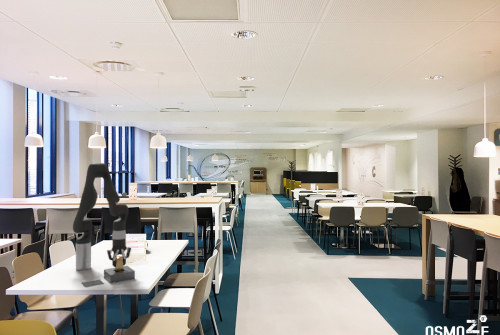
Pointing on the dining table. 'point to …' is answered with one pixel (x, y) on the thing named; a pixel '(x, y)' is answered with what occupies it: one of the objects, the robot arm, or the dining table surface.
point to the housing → (119, 274)
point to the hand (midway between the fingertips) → (119, 265)
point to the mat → (92, 283)
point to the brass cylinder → (119, 264)
